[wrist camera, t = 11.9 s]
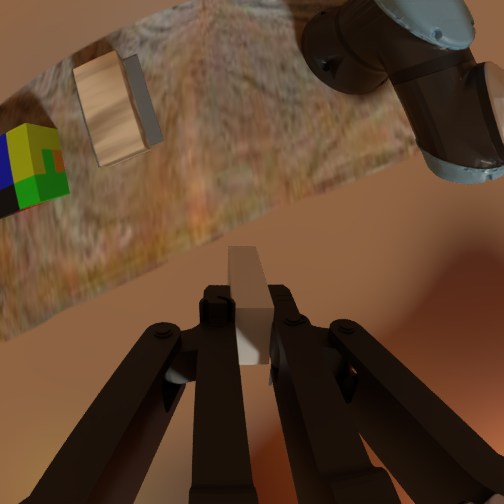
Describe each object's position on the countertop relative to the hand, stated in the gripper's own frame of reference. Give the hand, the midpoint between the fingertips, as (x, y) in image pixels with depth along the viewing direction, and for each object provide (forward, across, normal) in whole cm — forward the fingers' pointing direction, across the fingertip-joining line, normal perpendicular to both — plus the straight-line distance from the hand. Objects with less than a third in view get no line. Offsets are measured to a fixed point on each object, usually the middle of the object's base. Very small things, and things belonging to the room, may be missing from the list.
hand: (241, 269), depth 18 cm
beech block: (+24, -14, +5) cm, 28 cm away
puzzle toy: (+27, -30, +4) cm, 40 cm away
